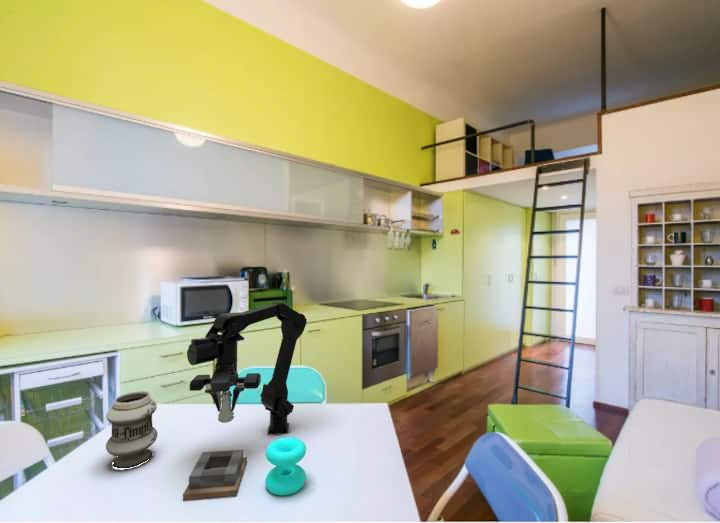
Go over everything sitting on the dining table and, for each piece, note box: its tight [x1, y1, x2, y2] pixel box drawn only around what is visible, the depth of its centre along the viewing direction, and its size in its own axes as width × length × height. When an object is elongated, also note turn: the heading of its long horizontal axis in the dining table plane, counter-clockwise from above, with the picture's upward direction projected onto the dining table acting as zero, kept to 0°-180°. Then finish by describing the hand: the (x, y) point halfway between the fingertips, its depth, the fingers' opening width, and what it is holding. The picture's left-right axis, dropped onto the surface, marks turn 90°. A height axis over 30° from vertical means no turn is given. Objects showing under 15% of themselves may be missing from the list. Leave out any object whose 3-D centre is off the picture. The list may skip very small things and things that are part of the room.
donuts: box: [264, 436, 307, 496], centre depth 86 cm, size 10×10×10 cm
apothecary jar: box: [105, 390, 158, 468], centre depth 96 cm, size 12×12×18 cm
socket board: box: [182, 449, 248, 502], centre depth 88 cm, size 14×12×4 cm
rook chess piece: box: [217, 390, 235, 424], centre depth 100 cm, size 4×4×8 cm
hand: (226, 410), depth 100 cm, fingers closed on rook chess piece, 3 cm apart
